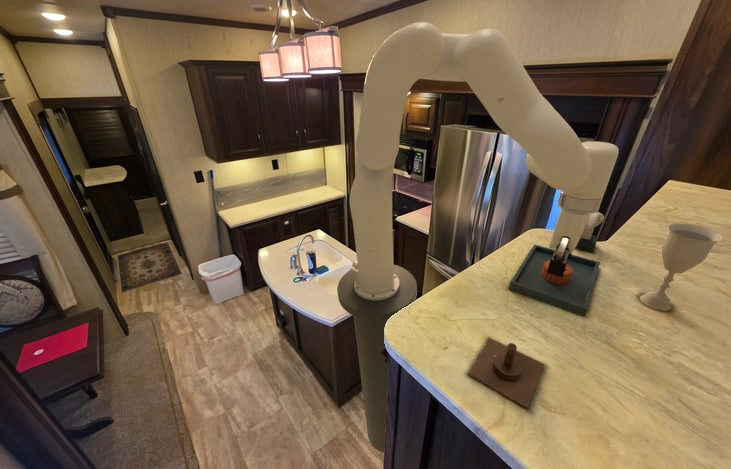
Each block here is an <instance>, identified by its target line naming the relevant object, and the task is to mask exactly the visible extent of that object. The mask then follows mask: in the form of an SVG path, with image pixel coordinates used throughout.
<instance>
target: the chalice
mask: <svg viewBox="0 0 731 469" xmlns="http://www.w3.org/2000/svg"><path fill="white" fill-rule="evenodd" d="M668 229H669V233H668V234H667V236H666V238H665V240H664V243H663V244H662V246H661V258H662V264H663V267H664V269H665V270H667V271H668V272H667V273H666V274H665V275H664V276H663V277H662V278H663V281H661V282H659V283H658V285H659V289H655V290H654V289H653V290H649V291H647V292H645V293H643V294H642V295H641V296H640V297H639V300H640V301H641V302H642V303H643V304H644V305H646V306H647V307H650V309H651V308H652V309H654V310H658V311H665V312H666V311H670V310H671V309H672V306H671V299H670V297H669V295H668V294H666V290H668V289H671V285H670V283H672V282H674V280H675V279H674V276H675V275H676V274H683V273H685V272H687V271H689V270H692V269H694V268H695V267H697V266H698V265H699V264H701V263H702V262H704V261H705V260H706V259H707V257H708V256H709V253H710V252H711V251H712V249H713V247H714V245H715V244H717V243H718V242H721V241H722V240H723V236H722V235H721V234H719V233H718V232H716V231H714V230H711V229H709V228H707V227H701V226H699V225H695V224H690V223H671V224H669V226H668Z"/></svg>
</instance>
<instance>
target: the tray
mask: <svg viewBox="0 0 731 469" xmlns="http://www.w3.org/2000/svg"><path fill="white" fill-rule="evenodd" d="M554 251H555V249H552V248H551V249H550V248H549V247H547V246H542V245H538V244H535V243H534V244H533V246H532V247H531V249H530V250H529V252H528V254H527V255H526V257H525V259H524V260H523V262H522V263H521V265H520V266H519V267H518V269H517V271H516V272H515V274H514V276H513V277H512V278H511V280H510V282H509V287H508V290H511V291H513V292H516V293H519V294H521V295H524V296H528V297H530V298H533V299H535V300H538V301H541V302H544V303H547V304H549V305H552V306H554V307H557V308H560V309H563V310H566V311H568V312H571V313H574V314H576V315H579V316H581V317H586V314H587V312H588V310H589V306H590V302H591V298H592V295H593V291H594V287H595V284H596V280H597V276H598V272H599V268H600V264H601V261H598V260H595V259H592V258H591V259H590V258H588V257H584V256H579V255H575V254H573V253H572V254H571V257H570V258H567V260H566V262H567V264H568V265H569V266H571V268H572V269H573V271H572V274H571V277H570V280H569V282H568V283H565V284H556V282H555V283H553V282H550V281H548V280H546V279H545V278H544V277H543V276H542V271H543V267H544V264H545V262H547V261H549V260H551V258H552V257H553V254H554Z"/></svg>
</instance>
